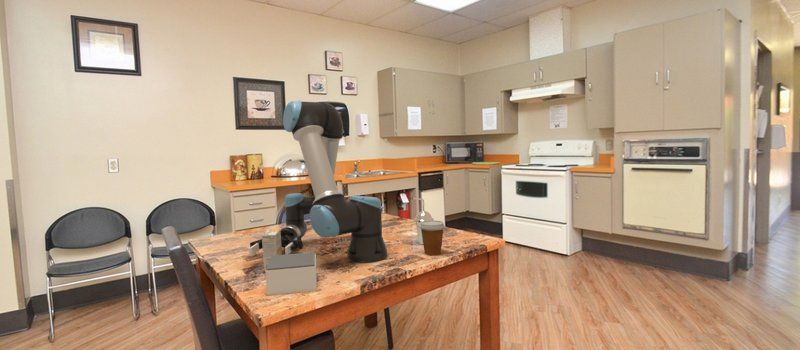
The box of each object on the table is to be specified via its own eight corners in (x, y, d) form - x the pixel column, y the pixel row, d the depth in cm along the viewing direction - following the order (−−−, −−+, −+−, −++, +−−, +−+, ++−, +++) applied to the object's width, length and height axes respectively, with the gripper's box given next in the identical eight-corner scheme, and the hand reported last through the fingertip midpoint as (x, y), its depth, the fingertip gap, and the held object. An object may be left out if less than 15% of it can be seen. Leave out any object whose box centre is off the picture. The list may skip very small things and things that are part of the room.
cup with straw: (434, 245, 160) (434, 197, 159) (413, 246, 160) (412, 198, 159) (433, 240, 169) (432, 195, 167) (412, 240, 169) (411, 195, 167)
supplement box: (269, 264, 140) (267, 229, 139) (282, 264, 140) (281, 228, 139) (263, 272, 132) (261, 234, 131) (277, 271, 132) (275, 234, 131)
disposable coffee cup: (438, 258, 143) (437, 226, 142) (415, 254, 148) (415, 223, 147) (449, 251, 151) (448, 221, 150) (427, 248, 156) (426, 219, 155)
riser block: (316, 275, 128) (315, 251, 128) (316, 291, 115) (315, 264, 114) (272, 279, 125) (271, 255, 125) (266, 296, 112) (265, 269, 111)
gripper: (318, 245, 153) (303, 261, 132) (259, 246, 154) (234, 263, 133) (317, 226, 153) (302, 240, 131) (257, 227, 154) (233, 241, 132)
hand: (268, 251), depth 132 cm, fingers open, 12 cm apart
